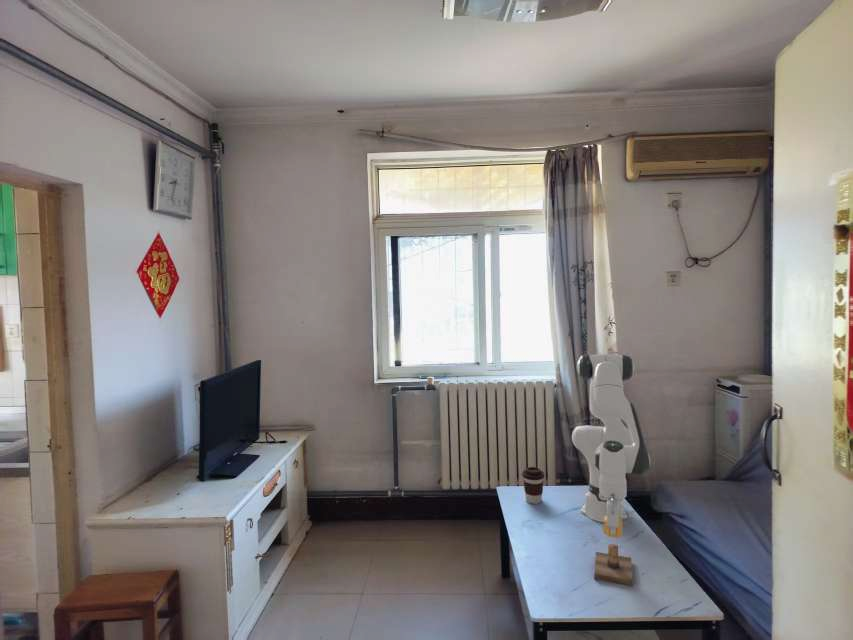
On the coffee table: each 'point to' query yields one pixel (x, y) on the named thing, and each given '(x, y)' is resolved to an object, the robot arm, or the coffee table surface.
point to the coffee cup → (533, 484)
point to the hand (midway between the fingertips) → (613, 527)
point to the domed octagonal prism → (618, 530)
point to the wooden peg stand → (613, 567)
